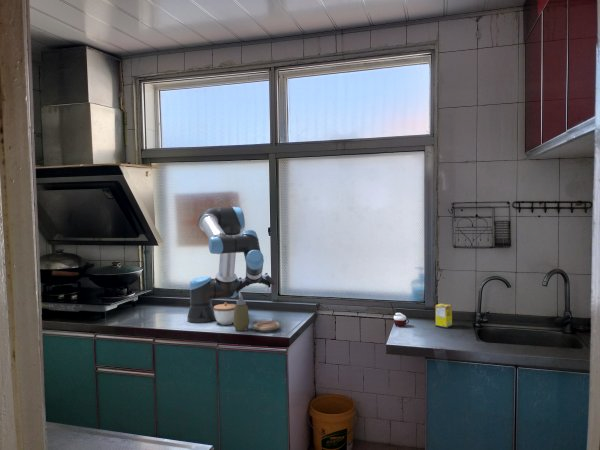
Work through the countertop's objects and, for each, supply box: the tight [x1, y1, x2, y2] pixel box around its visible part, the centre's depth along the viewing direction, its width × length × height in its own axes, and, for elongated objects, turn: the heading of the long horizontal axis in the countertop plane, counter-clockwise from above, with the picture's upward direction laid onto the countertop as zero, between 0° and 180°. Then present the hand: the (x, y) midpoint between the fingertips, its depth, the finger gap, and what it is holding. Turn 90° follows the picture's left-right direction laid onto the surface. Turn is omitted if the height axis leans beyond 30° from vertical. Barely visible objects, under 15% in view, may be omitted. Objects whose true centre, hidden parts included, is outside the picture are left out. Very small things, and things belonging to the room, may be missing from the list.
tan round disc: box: [252, 320, 280, 333], centre depth 227 cm, size 13×13×3 cm
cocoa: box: [389, 302, 410, 328], centre depth 230 cm, size 10×6×12 cm, turn 68°
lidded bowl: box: [213, 301, 236, 326], centre depth 242 cm, size 13×13×11 cm
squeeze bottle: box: [232, 293, 250, 332], centre depth 228 cm, size 8×8×18 cm
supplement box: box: [434, 303, 453, 329], centre depth 227 cm, size 6×6×11 cm
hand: (252, 292), depth 225 cm, fingers open, 13 cm apart
